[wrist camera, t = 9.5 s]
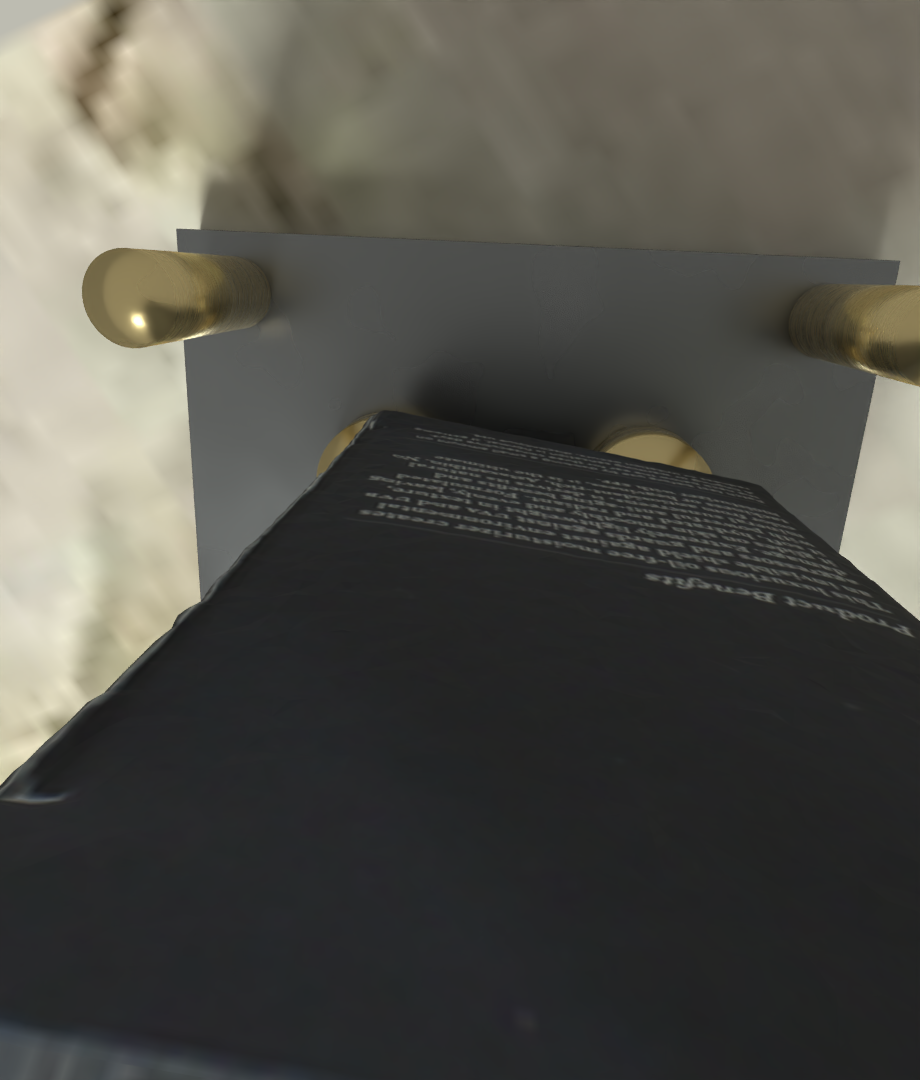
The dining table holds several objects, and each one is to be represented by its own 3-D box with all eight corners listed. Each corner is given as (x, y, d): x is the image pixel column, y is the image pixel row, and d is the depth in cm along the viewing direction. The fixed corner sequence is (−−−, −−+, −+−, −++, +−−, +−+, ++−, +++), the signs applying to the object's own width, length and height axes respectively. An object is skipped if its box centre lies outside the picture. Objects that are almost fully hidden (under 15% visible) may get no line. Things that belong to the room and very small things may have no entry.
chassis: (874, 262, 14) (1061, 253, 9) (731, 970, 19) (803, 1203, 14) (199, 231, 14) (41, 209, 10) (238, 925, 19) (149, 1134, 15)
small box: (621, 1006, 15) (810, 2408, 5) (289, 938, 15) (-154, 2181, 5) (794, 480, 12) (2324, 1627, 2) (364, 397, 12) (-497, 1037, 2)
